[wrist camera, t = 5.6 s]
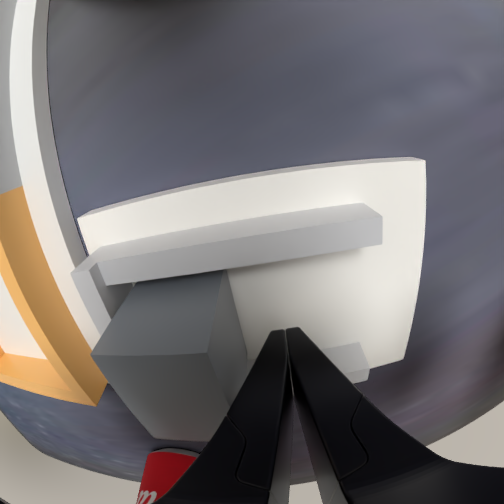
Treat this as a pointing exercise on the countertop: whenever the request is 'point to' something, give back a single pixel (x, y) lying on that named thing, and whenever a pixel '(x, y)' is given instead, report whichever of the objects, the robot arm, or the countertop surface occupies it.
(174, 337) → the block
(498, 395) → the countertop surface
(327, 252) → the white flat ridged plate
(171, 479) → the beverage can
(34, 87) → the socket board
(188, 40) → the countertop surface
